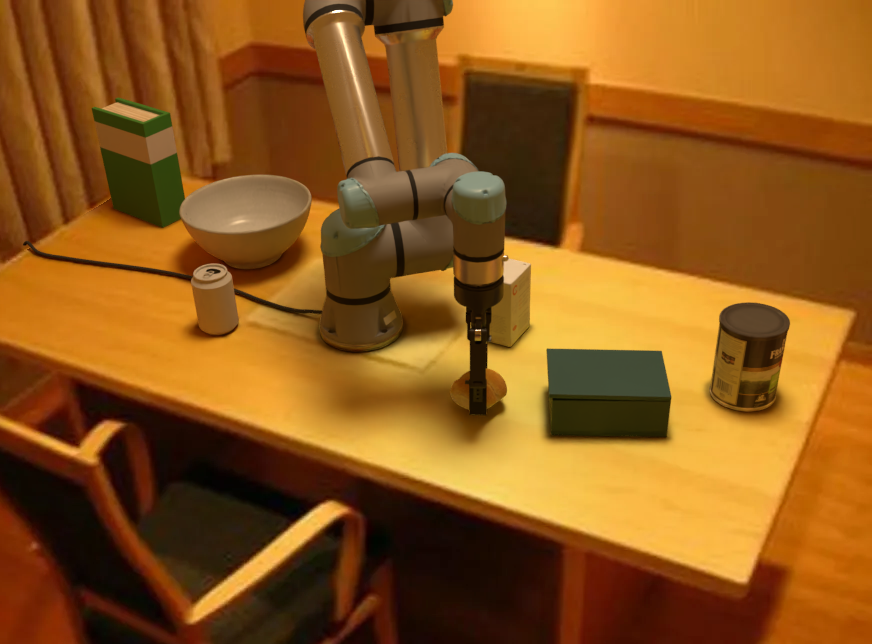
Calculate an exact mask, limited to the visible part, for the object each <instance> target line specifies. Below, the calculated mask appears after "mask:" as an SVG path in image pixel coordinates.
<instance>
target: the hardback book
mask: <svg viewBox="0 0 872 644" xmlns="http://www.w3.org/2000/svg"><path fill="white" fill-rule="evenodd" d="M114 101H115V102H114V103H112V104H109V105H107V106H105V107H102V108H100V107H99V106H98V107H97V106H93V107H91V113H92V116H93V122H94V126H95V131H96V136H97V140H98V144H99V149H100V154H101V159H102V162H103V163H102V164H103V168H104V172H105V178H106V181H107V186H108V190H109V195H110V200H111V204H112V209H113V210H116V211H118V212H122V213H124V214H126V215H129V216H131V217H135V218H137V219H139V220H142V221H144V222H147V223H149V224H152V225H155V226H156V227H160V228H161V229H164V228H166V227H167V226H169V225H172V224H174V223H175V222H178V221H180V220H181V217H180V213H179V211H180V206H181V204H182V202H183V201H184V200H185V198H186V197H185V189H184V184H183V179H182V174H181V168H180V162H179V156H178V151H177V150H178V149H177V145H176V140H175V134H174V127H173V122H172V116H171V112H169V111H165V110H162V109H159V108H156V107H152V106H149V105H145V104H142V103H139V102H136V101H132V100H128V99H126V98H122V97H119V96H118V97H115V98H114Z"/></svg>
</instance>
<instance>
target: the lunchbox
mask: <svg viewBox="0 0 872 644" xmlns="http://www.w3.org/2000/svg"><path fill="white" fill-rule="evenodd" d="M547 389H548V391H547V392H548V393H549V387H548V388H547ZM671 403H672V400H671V401H647V400H607V399H566V398H549V397H548V406H549V407H548V408H549V409H548V410H549V422H550V423H549V426H550V436H558V437H559V436H563V437H564V436H567V437H569V436H570V437H573V436H575V437H635V438H637V437H639V438H640V437H642V438H643V437H645V438H648V437H649V438H667V437H668V430H669V421H670V412H671V405H672V404H671Z"/></svg>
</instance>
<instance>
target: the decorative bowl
mask: <svg viewBox="0 0 872 644" xmlns="http://www.w3.org/2000/svg"><path fill="white" fill-rule="evenodd" d="M312 200H313V199H312V193H311V192H310V189H309V188H308V187H307V186H306V185H305V184H303V183H301V182H299V181H298V180H295V179H293V178H290V177H286V176H281V175H274V174H248V175H246V174H245V175H238V176H232V177H227V178H224V179H220V180H215V181H214V182H210V183H208V184H206V185H205V184H204V185H203V186H201V187H199V188H198V189H195V190H193V192H191V193H189V195H187V196H186V197H185V200H184V201H183V202H182V204H181V206H180V211H179V213H180V217H181V219H180V220H181V222H182V224H183V226H184V228H185V229H186V231H187V232H188V234H189V235H190V237H191V238H192V239H193V241H195V243H196V244H197V245H198V246H199V247H200V248H201V249H203V250H204V251H205V252H206V253H208V254H209V255H211V256H213V257H214V258H217V259H218V260H220V261H224V263H225V264H226V265H228V266H230V267H232V268H235V269H240V270H253V269H260V268H264V267H268V266H270V265H272V264H274V263H276V262H277V261H278V260H279V259H280V258H281V257H282V255H283V253H285V252H286V251H288V249H290V248H291V247H292V246H293V245H294V244H295V242H296V241H297V240H298V239H299V237H300V236H301V234H302V232H303V231H304V229H305V226H306V225H307V222H308V219H309V216H310V212H311V207H312V202H313V201H312Z"/></svg>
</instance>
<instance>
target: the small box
mask: <svg viewBox="0 0 872 644" xmlns="http://www.w3.org/2000/svg"><path fill="white" fill-rule="evenodd" d="M503 276H504V296H503V299H502V300H501V301H500V302H499V303H498V304H497V305H495V306H493V307H492V316H491V323H490V335H491V342H490V343H493V344H496V345H501V346H503V347H507V348H511V347H512V346H513V345H514V344H515V343H516V342H517V341H518V340H519V338H521V336H522V335H523V334H524V333H525V332H526V331H527V330H528V328H529V327H530V326H531V287H532V286H531V285H532V281H531V280H532V279H531V278H532V263H529V262H526V261H523V260H518V259H515V258H514V259H513V258H509V257H508V261H506V262H504V273H503Z"/></svg>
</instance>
